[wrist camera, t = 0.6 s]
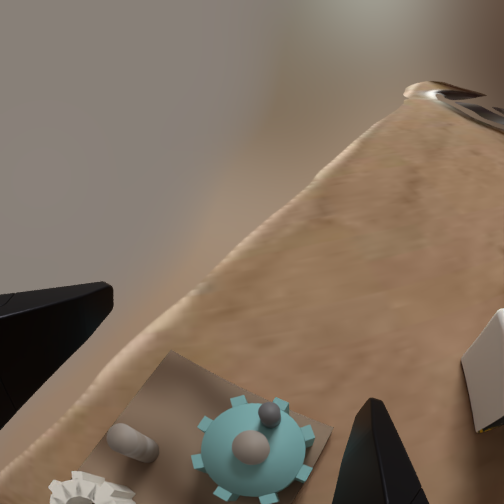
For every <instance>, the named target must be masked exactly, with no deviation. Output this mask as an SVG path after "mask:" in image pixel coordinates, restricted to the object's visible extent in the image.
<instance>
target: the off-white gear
mask: <svg viewBox="0 0 504 504" xmlns="http://www.w3.org/2000/svg"><path fill="white" fill-rule="evenodd" d="M48 488H49V489H50V490H51V491H52V492H53V493H52V495H51V498H50V504H93V503H95V504H136V503H135V502H134V501H133V500H132V498H133V497H134V495H135V493H134V492H133V491H132V490H130V489H129V488H128V487H127V486H123V485H118V484H114V483H110V482H106V481H105V478H103V477H99V476H96V475H92V474H89V473H86V472H82V471H72V480H68V481H64V482H60V481H56V480H53V481H52V483H51V484H50V485H49V487H48Z"/></svg>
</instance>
